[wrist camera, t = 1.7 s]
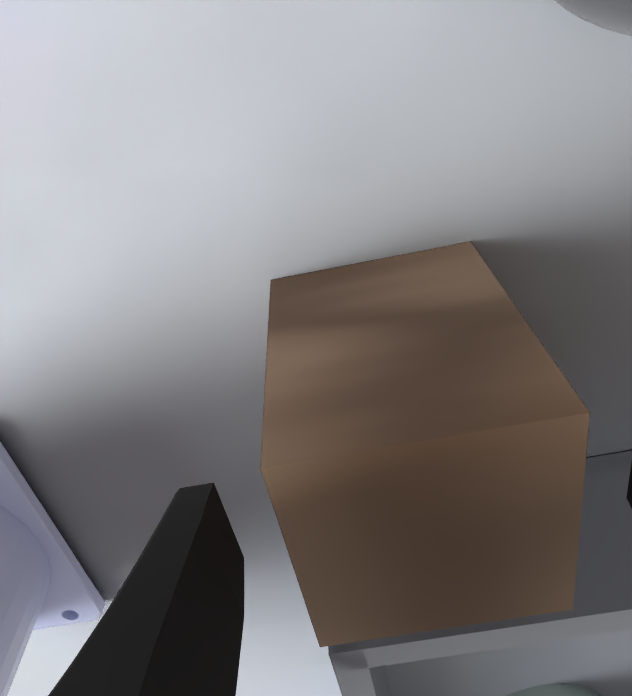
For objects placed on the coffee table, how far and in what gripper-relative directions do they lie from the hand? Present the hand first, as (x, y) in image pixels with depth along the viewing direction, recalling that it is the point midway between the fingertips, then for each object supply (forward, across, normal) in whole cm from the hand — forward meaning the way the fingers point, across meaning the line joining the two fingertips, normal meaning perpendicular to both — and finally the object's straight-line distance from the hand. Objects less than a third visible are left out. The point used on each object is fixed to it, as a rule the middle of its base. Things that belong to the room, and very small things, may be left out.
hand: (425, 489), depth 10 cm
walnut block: (+5, 0, 0) cm, 5 cm away
